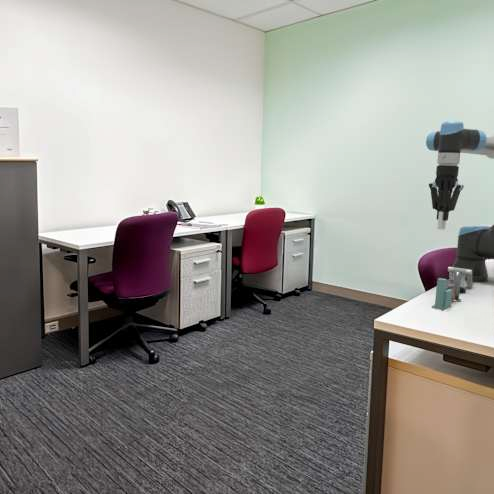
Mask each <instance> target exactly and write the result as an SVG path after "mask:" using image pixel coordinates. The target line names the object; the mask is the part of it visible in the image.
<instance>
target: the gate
mask: <svg viewBox="0 0 494 494" xmlns="http://www.w3.org/2000/svg"><path fill="white" fill-rule="evenodd" d="M456 287H457V284H453V283H452V284H449V285H446V290H448V289H452V290H453V291H452V300H451V302H453V300H454V299H455V290H456Z"/></svg>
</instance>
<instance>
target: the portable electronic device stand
mask: <svg viewBox="0 0 494 494" xmlns="http://www.w3.org/2000/svg"><path fill="white" fill-rule="evenodd" d="M454 271H459V272H462V274H461V283H460V287H463V288H467V289H473V288H474V282H473V281H472V270H469V269H463V268H456V267H453V266H448V267H447V272H449V273H448V277H449V279H448V280H454ZM466 275H467V281H465V278H466Z"/></svg>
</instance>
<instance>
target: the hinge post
mask: <svg viewBox="0 0 494 494" xmlns="http://www.w3.org/2000/svg"><path fill="white" fill-rule="evenodd" d="M461 274H462V272H459V271H454V280H453V284H457V287H456V290H455V299H454V300H453V301H452V303H453V302H454V303H461V301H462V300H461V299H460V293H459V292H460V283H461Z"/></svg>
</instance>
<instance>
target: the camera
mask: <svg viewBox="0 0 494 494" xmlns="http://www.w3.org/2000/svg"><path fill="white" fill-rule="evenodd" d="M452 283H453V280H449V279H447V285H449V284H452ZM466 293H467V289H466V287H460V292H459V294H466Z"/></svg>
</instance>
